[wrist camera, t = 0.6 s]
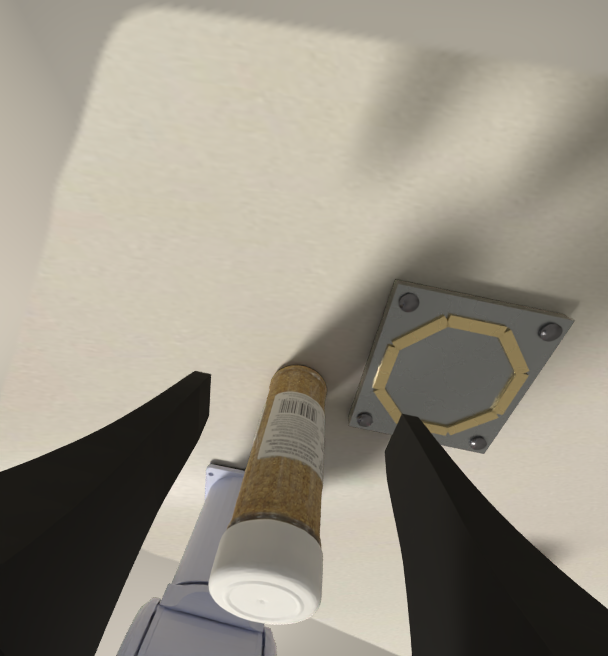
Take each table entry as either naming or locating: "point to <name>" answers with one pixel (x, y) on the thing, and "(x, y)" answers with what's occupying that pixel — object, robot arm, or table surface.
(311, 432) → the sprinkles bottle
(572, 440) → the table surface
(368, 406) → the octagon fixture plate
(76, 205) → the table surface
